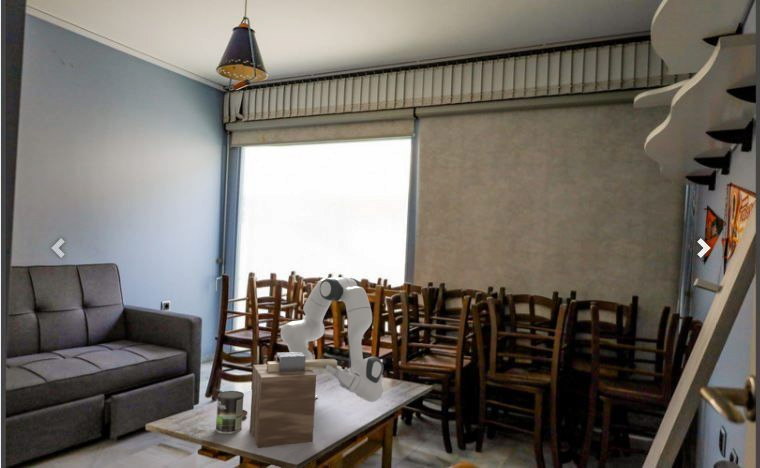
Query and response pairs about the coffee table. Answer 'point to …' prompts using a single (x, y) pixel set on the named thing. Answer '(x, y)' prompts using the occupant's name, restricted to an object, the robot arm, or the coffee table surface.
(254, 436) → the brown tall wooden box
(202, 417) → the coffee table surface
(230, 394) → the coffee can
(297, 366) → the metal tunnel
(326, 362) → the beech bar
